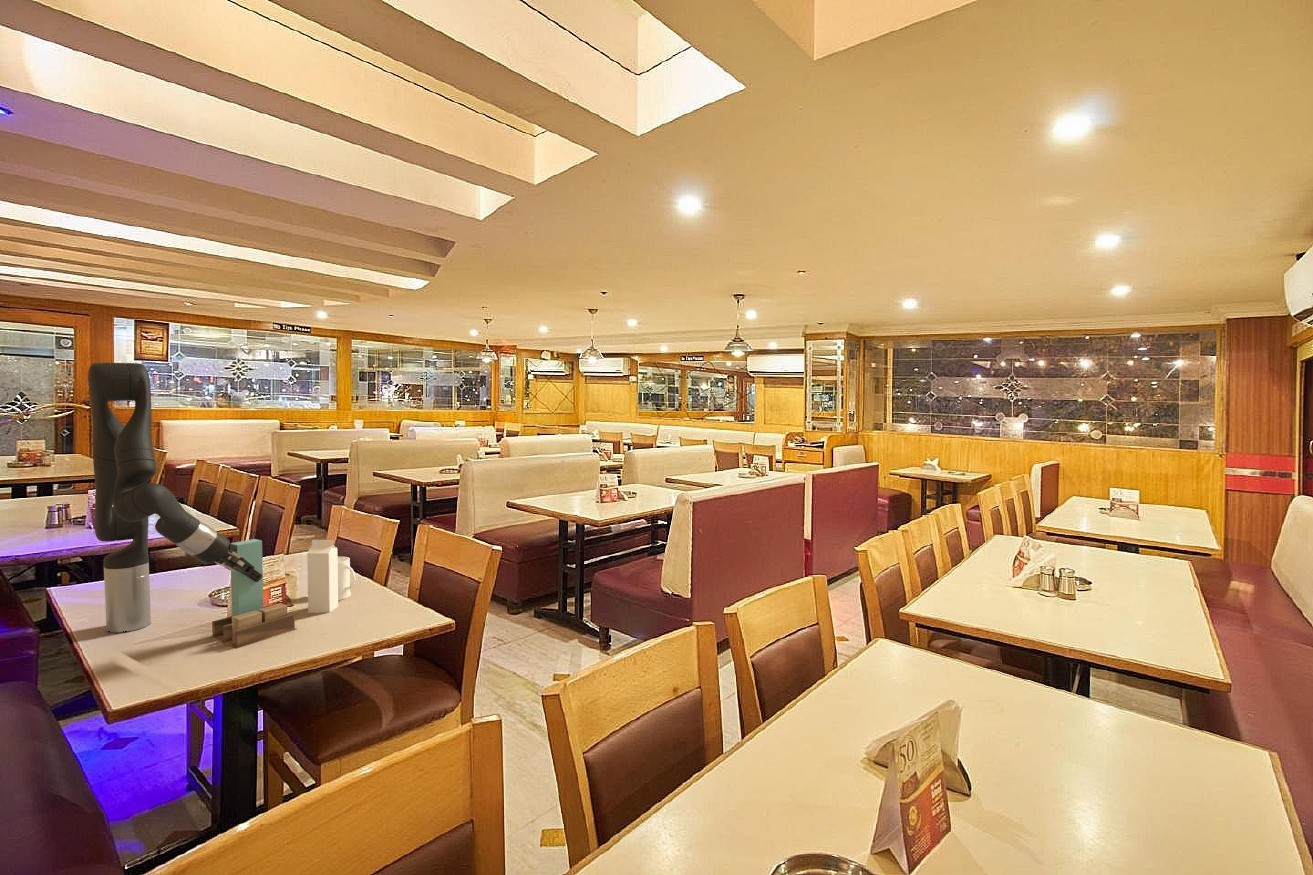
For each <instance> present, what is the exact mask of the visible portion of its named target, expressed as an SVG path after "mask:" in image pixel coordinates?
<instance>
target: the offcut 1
mask: <svg viewBox="0 0 1313 875" xmlns="http://www.w3.org/2000/svg"><path fill="white" fill-rule="evenodd" d="M260 623H262V613H261V612H259V611H256V610H255V611H252V612H248V613H244V614H241V615H237V616H234V617H232V640H233V642H234V643H235V631H236V630H240V629H243V628H246V627H250V626H253V625H257V624H260Z"/></svg>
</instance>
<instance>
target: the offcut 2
mask: <svg viewBox="0 0 1313 875" xmlns="http://www.w3.org/2000/svg"><path fill="white" fill-rule="evenodd" d="M269 606H270V607H266V606H265V607H266V608H262V609H259V612H261V613H262V623H263V622H267V621H270V620H273V619H277V618H280V617H284V616H287V615H288V605H287V604H283V603H277V604H273V605H269Z"/></svg>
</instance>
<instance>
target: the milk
mask: <svg viewBox="0 0 1313 875" xmlns="http://www.w3.org/2000/svg"><path fill="white" fill-rule="evenodd" d="M338 557H339V556H338V547H336V546H335V545H334V540H333V539H312V540H311V545H310V547H309V549H308V552H307V553H306V560H307V562H306V563H307V564H306V565H307V568H306V569H307V570H306V571H307V609H308V610H307V611H308V612H307V613H309V614H310V613H311V614H315V613H318V614H321V613H324V614H325V613H331V612H332V611H334V610H335V609H336V608H339V601H338Z"/></svg>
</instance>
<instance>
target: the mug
mask: <svg viewBox="0 0 1313 875" xmlns="http://www.w3.org/2000/svg"><path fill="white" fill-rule="evenodd" d="M350 559H351V558H350V557H347V556H338V602H339V601H343V600H346V599H349V598H350V597H351V596H352V593H351V589H352V588H353V587H354V586H355V583H356V581H357V580H356V573H355V571H354V569H353V568H352V567H351V561H350ZM351 574H352V578H353V579H352V580H353V581H352V583H351Z"/></svg>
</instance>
